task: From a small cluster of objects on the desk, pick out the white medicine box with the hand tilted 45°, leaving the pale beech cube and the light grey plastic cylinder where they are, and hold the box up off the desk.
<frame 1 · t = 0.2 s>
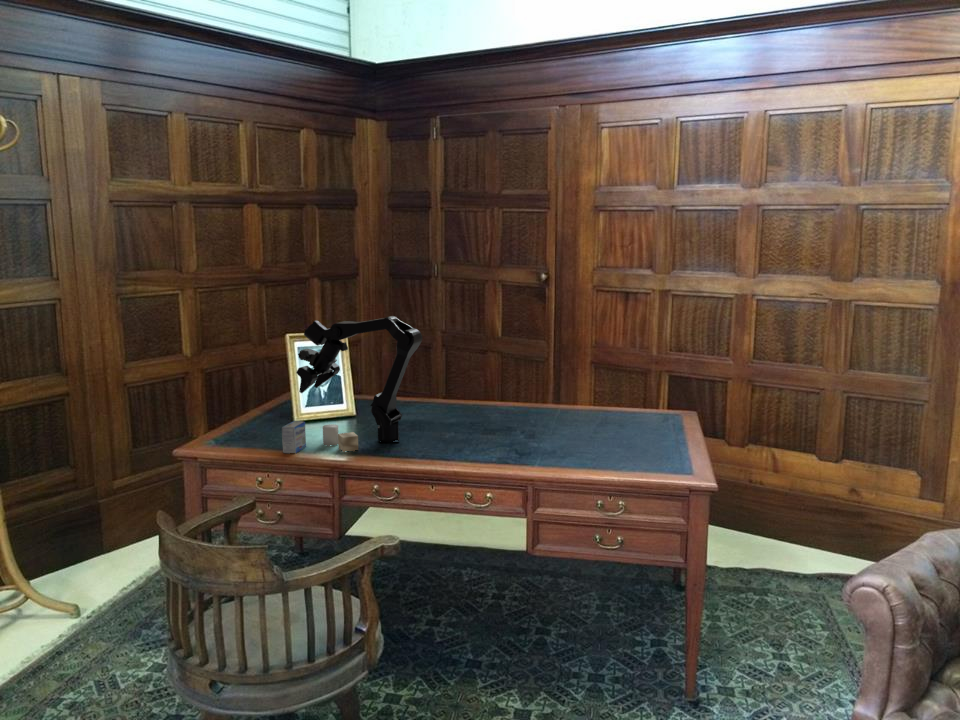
hand: (308, 389, 273), 15 cm above the table, tool tilted 35°, fingers open, 9 cm apart
beech cube: (348, 449, 255), on the table
medicine box: (294, 450, 254), on the table
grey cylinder: (330, 444, 261), on the table
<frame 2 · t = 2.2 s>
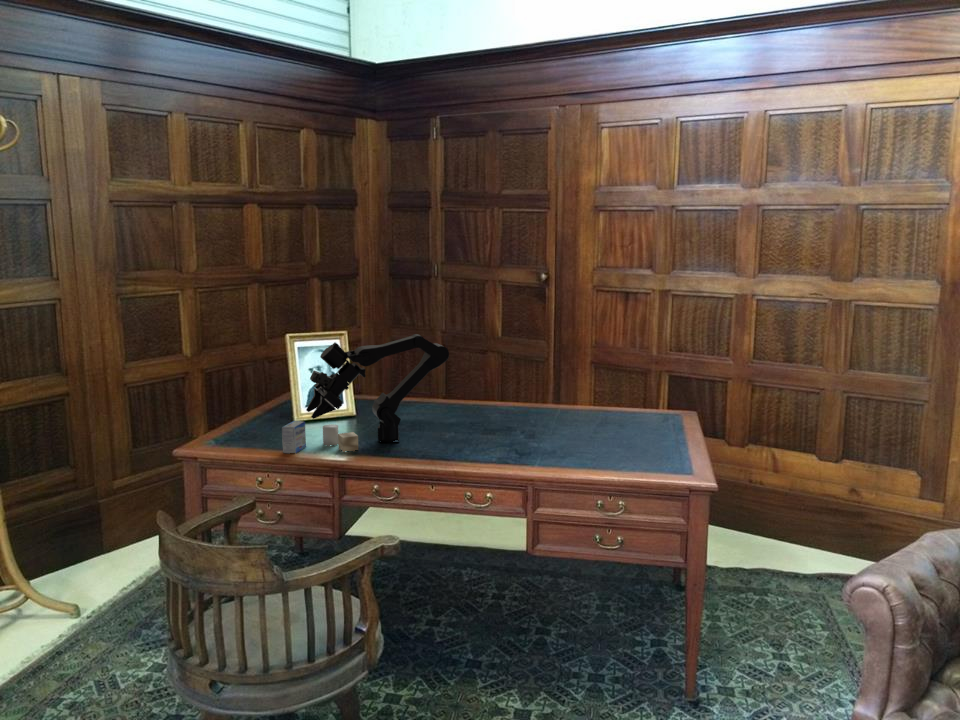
hand: (309, 414, 253), 11 cm above the table, tool tilted 45°, fingers open, 9 cm apart
nothing on the table moved.
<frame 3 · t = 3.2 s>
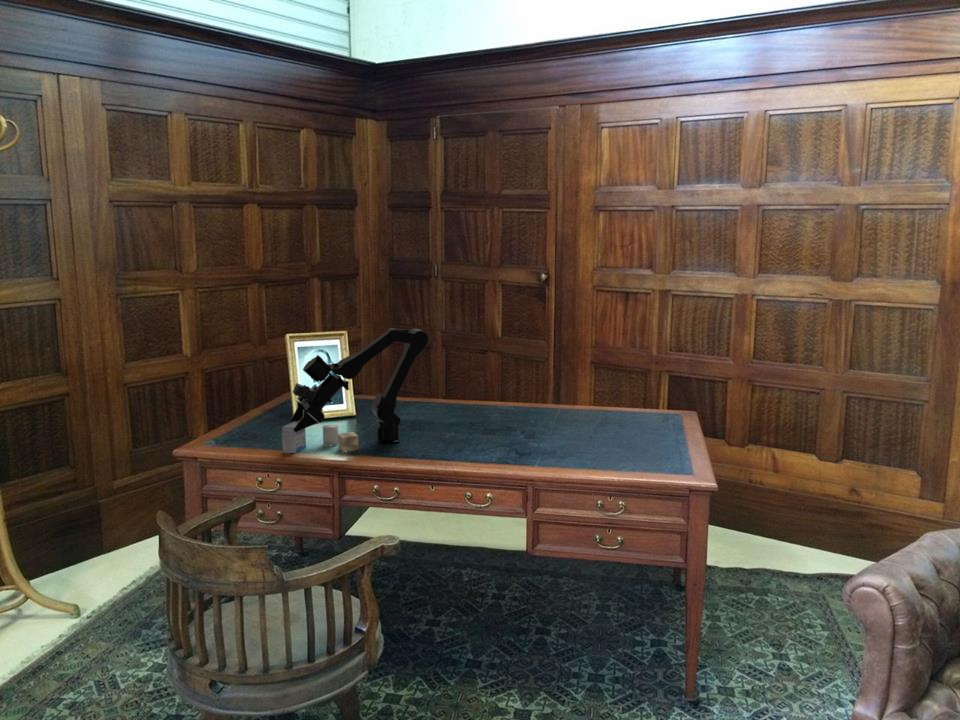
hand: (292, 427, 252), 7 cm above the table, tool tilted 45°, fingers open, 9 cm apart
nothing on the table moved.
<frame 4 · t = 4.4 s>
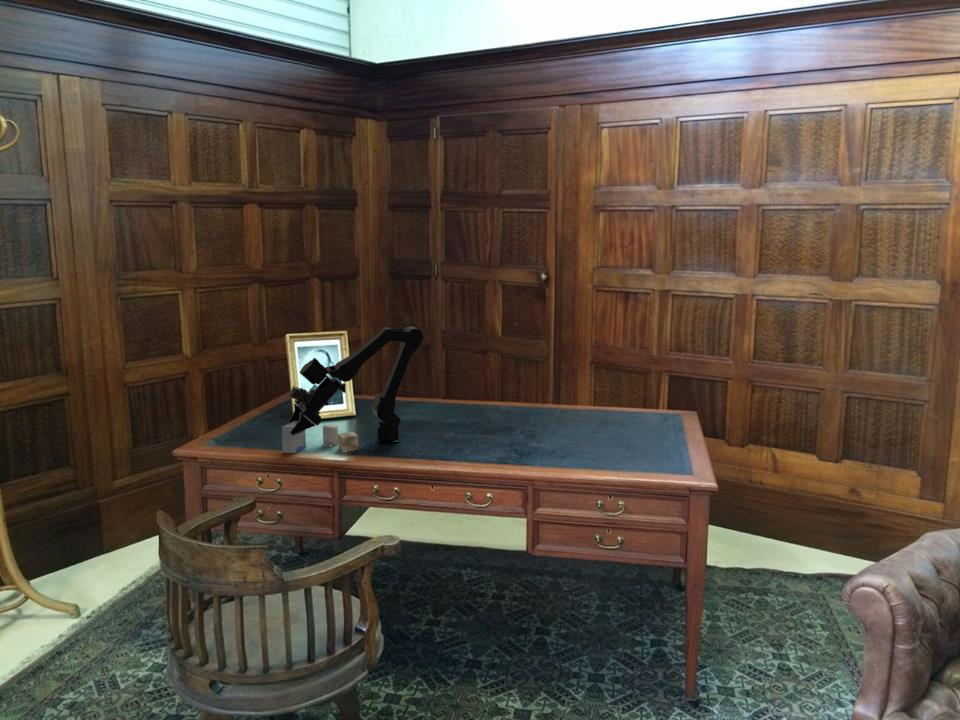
hand: (289, 430, 252), 7 cm above the table, tool tilted 45°, fingers closed on medicine box, 9 cm apart
medicine box: (294, 450, 254), on the table, touching gripper
everything else where it was.
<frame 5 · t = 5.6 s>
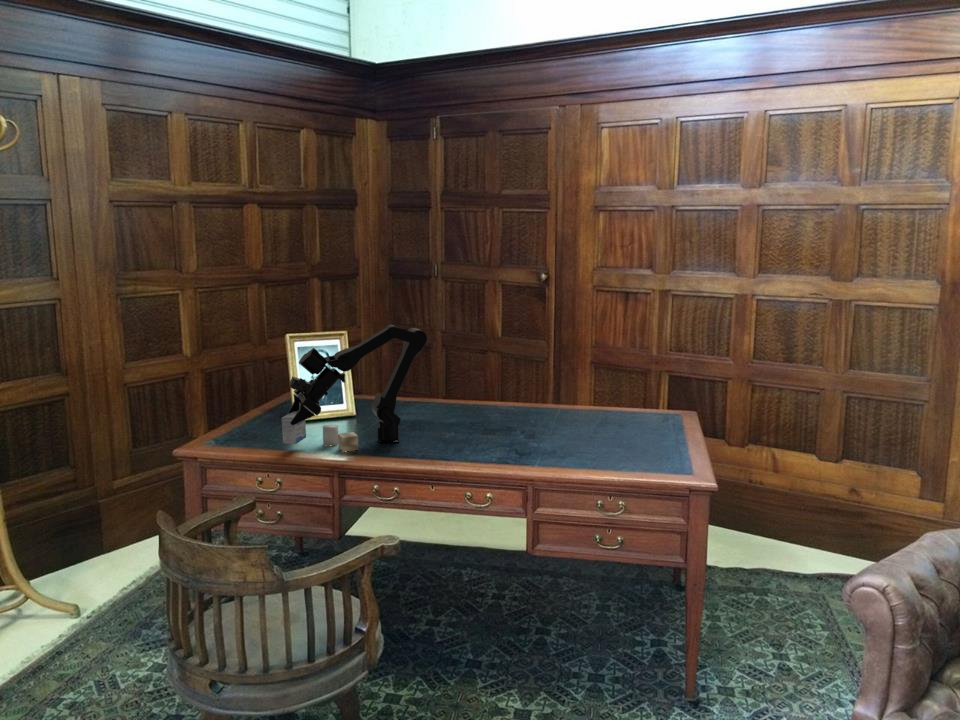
hand: (289, 420, 251), 10 cm above the table, tool tilted 45°, fingers closed on medicine box, 9 cm apart
medicine box: (294, 441, 253), point 3 cm above the table, touching gripper
everything else where it was.
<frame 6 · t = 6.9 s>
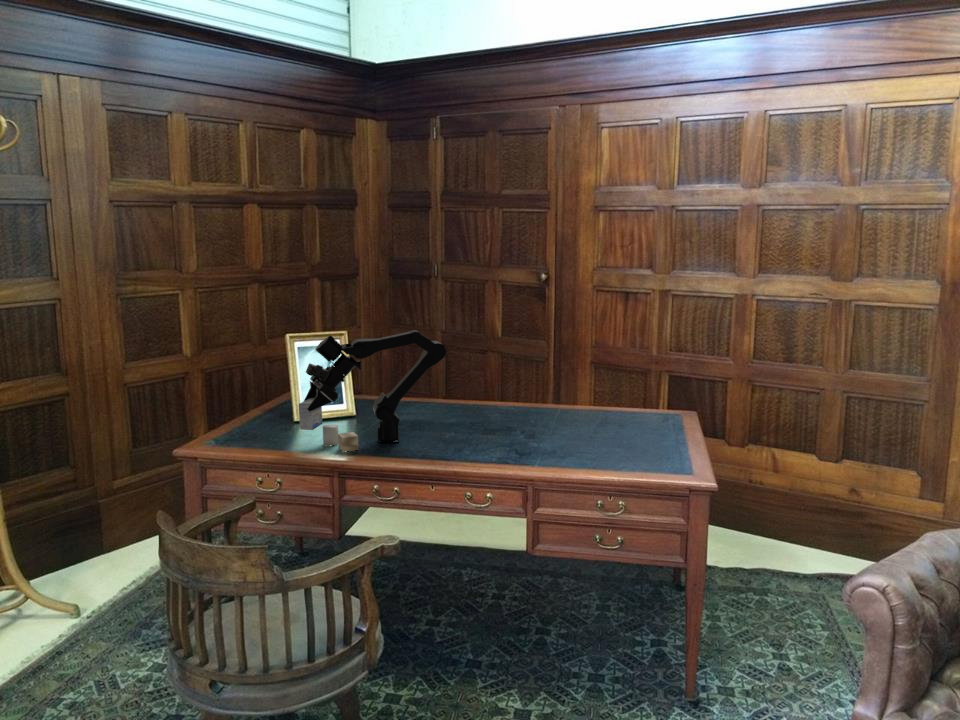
hand: (306, 407, 254), 13 cm above the table, tool tilted 45°, fingers closed on medicine box, 9 cm apart
medicine box: (311, 427, 256), point 6 cm above the table, touching gripper
everything else where it was.
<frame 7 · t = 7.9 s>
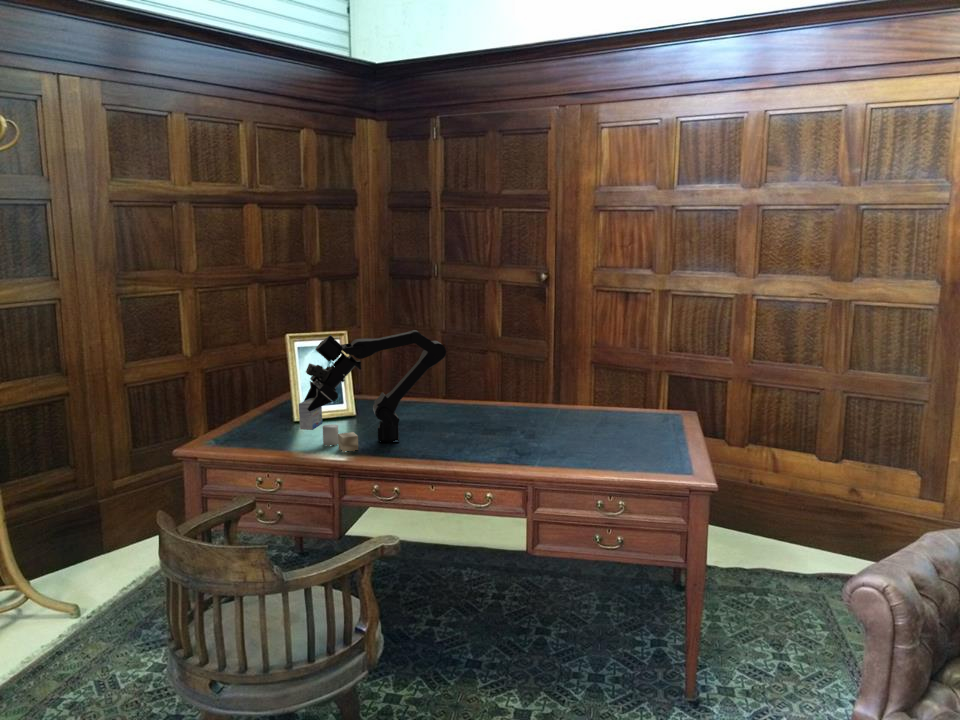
hand: (306, 407, 254), 13 cm above the table, tool tilted 45°, fingers closed on medicine box, 9 cm apart
medicine box: (311, 427, 256), point 7 cm above the table, touching gripper
everything else where it was.
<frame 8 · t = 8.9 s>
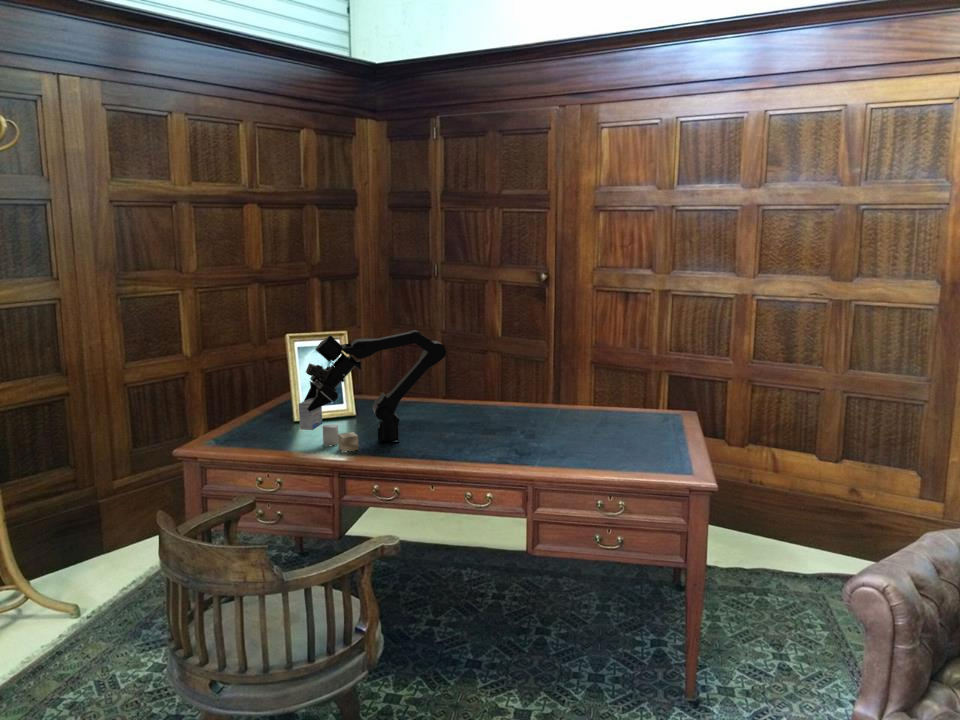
hand: (306, 407, 254), 13 cm above the table, tool tilted 45°, fingers closed on medicine box, 9 cm apart
medicine box: (311, 427, 256), point 7 cm above the table, touching gripper
everything else where it was.
at the end: the gripper is holding medicine box; medicine box point 6.5 cm above the table; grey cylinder moved 0.1 cm from its start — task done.
